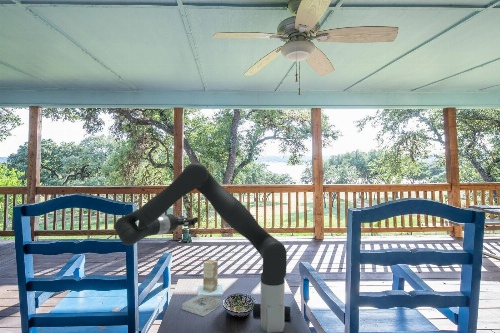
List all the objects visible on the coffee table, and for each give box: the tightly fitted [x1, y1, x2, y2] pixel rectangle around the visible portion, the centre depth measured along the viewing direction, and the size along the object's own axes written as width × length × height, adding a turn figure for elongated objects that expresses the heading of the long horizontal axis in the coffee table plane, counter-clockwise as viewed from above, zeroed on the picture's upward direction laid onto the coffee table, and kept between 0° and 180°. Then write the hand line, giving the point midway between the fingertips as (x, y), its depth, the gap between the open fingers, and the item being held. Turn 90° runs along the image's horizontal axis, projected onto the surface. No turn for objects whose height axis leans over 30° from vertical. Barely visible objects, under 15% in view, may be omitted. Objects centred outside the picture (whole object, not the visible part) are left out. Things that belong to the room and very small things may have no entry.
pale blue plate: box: [197, 284, 224, 297], centre depth 144 cm, size 12×12×1 cm
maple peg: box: [202, 259, 219, 292], centre depth 144 cm, size 5×5×14 cm
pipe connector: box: [252, 303, 291, 321], centre depth 121 cm, size 12×5×15 cm
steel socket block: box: [181, 294, 222, 317], centre depth 126 cm, size 12×12×2 cm
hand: (190, 219), depth 132 cm, fingers open, 8 cm apart
